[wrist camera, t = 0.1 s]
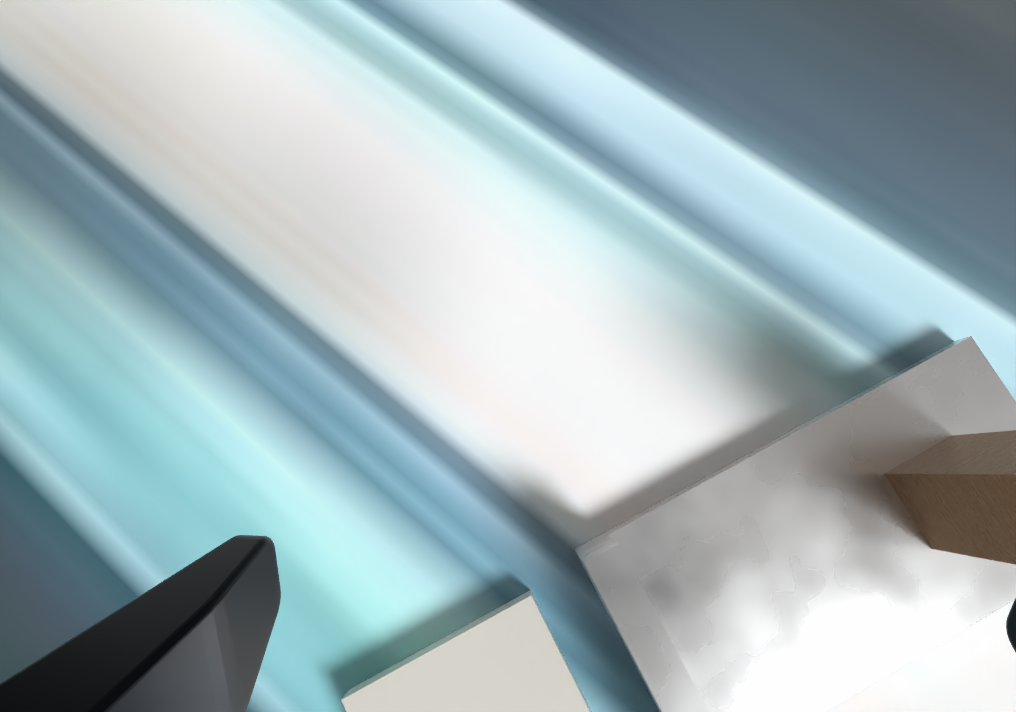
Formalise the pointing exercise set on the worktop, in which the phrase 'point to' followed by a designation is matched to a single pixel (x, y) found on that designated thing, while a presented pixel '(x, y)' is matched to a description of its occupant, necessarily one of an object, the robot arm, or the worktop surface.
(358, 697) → the tile
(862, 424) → the metal bookend
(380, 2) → the worktop surface
